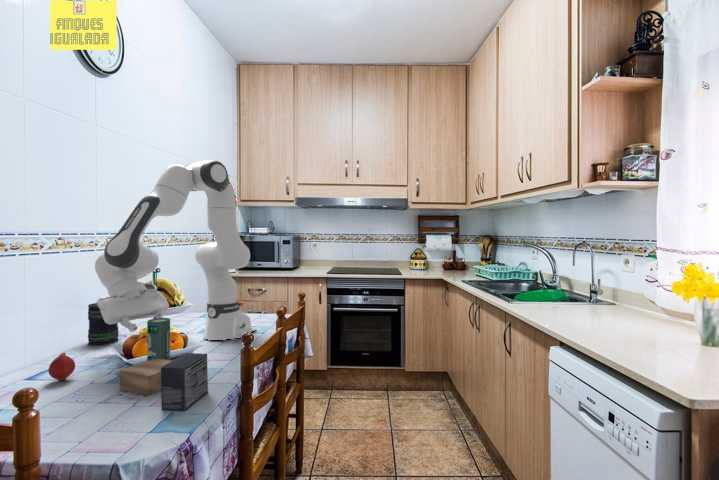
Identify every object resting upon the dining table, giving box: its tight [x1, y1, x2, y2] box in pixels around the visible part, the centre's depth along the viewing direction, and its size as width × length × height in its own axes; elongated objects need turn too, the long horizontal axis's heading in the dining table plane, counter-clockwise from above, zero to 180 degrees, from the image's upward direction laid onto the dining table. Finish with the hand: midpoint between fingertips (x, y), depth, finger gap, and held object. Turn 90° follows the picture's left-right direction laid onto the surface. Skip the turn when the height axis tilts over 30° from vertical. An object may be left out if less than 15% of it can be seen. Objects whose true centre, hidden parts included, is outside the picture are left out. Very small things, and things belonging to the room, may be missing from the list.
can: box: [146, 317, 171, 361], centre depth 114 cm, size 6×6×15 cm
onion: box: [48, 351, 76, 382], centre depth 103 cm, size 6×6×8 cm
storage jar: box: [87, 302, 120, 347], centre depth 142 cm, size 10×10×15 cm
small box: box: [160, 352, 209, 412], centre depth 90 cm, size 11×6×10 cm, turn 174°
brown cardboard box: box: [119, 358, 172, 397], centre depth 101 cm, size 11×11×5 cm
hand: (148, 327), depth 115 cm, fingers open, 8 cm apart
